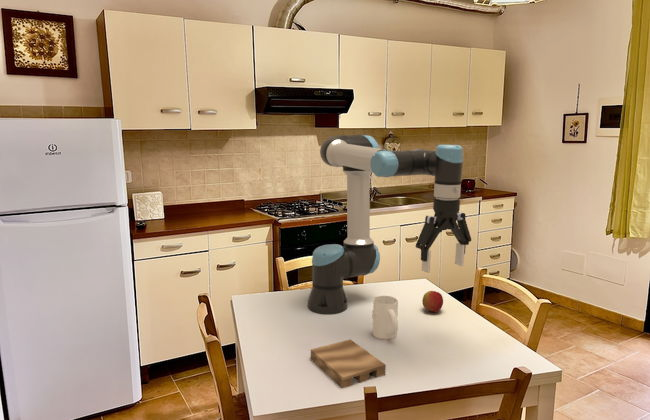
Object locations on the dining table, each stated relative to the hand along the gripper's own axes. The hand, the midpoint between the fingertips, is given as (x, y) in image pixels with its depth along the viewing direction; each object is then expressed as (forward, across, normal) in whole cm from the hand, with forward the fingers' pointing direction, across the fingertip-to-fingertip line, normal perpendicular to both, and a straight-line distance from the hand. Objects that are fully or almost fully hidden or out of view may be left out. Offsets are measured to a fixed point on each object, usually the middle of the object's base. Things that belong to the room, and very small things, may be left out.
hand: (442, 268), depth 142 cm
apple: (+27, +20, +24) cm, 41 cm away
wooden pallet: (+26, -30, +5) cm, 41 cm away
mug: (+27, -8, +15) cm, 32 cm away
